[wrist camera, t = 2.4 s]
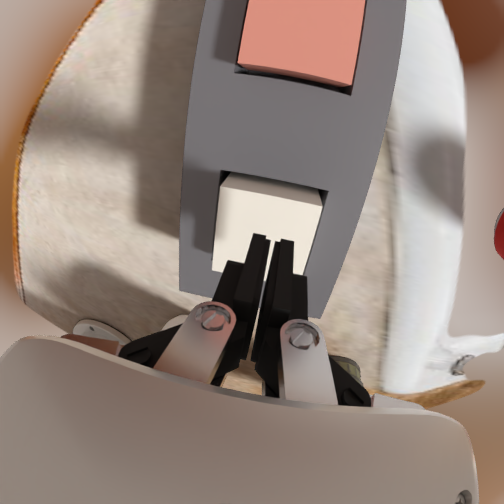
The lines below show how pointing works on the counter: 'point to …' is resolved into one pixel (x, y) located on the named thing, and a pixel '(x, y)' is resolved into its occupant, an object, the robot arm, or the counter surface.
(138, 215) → the counter surface
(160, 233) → the counter surface
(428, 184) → the counter surface
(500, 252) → the beverage can
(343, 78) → the brick key
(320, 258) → the key panel
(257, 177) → the ivory key
